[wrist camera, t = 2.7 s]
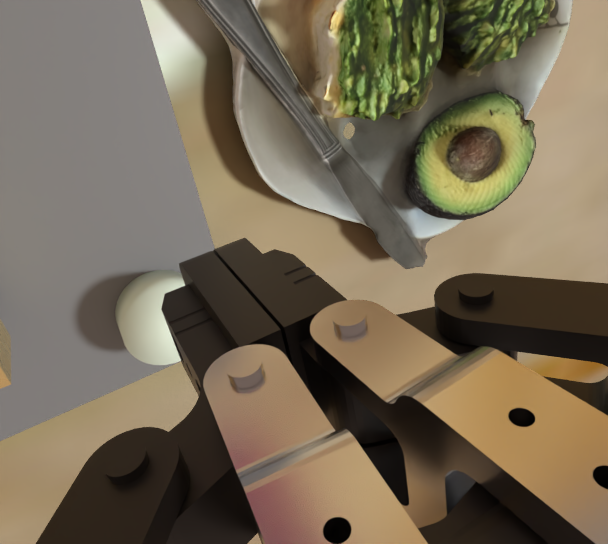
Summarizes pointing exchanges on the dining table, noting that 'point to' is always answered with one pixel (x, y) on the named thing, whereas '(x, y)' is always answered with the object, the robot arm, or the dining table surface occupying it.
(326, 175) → the salad plate
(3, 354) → the tan elongated block
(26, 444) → the dining table surface
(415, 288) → the dining table surface
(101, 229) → the base
